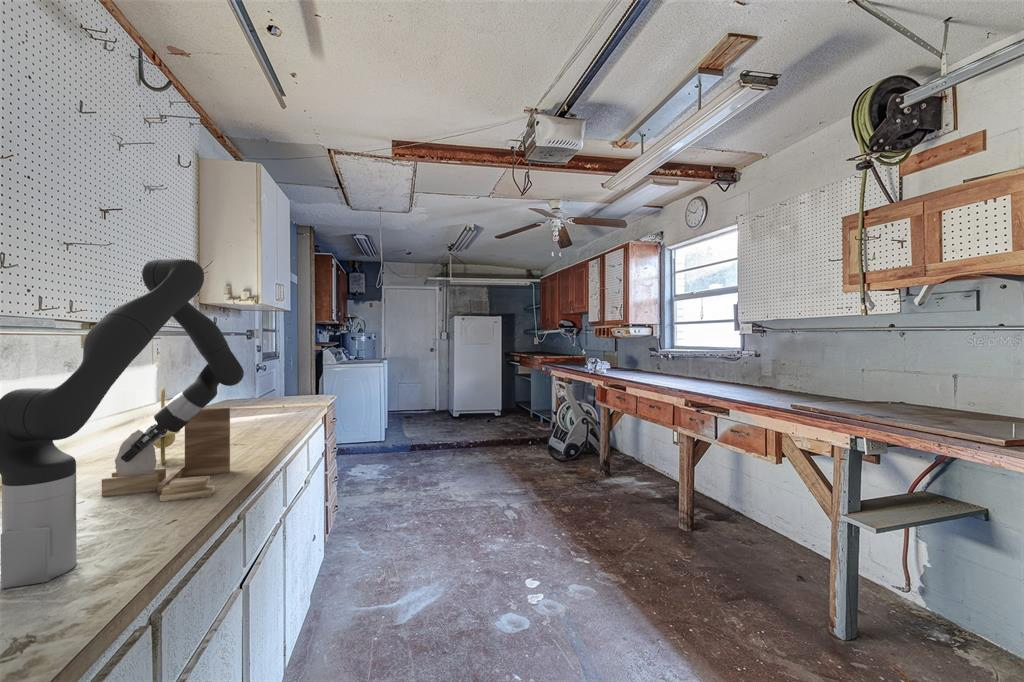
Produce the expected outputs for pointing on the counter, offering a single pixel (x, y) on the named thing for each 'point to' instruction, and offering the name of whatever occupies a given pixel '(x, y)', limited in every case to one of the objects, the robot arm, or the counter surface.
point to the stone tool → (135, 458)
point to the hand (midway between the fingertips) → (126, 458)
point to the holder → (132, 483)
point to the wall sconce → (169, 437)
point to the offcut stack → (187, 488)
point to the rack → (205, 445)
